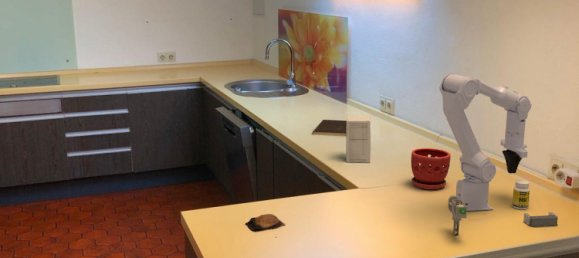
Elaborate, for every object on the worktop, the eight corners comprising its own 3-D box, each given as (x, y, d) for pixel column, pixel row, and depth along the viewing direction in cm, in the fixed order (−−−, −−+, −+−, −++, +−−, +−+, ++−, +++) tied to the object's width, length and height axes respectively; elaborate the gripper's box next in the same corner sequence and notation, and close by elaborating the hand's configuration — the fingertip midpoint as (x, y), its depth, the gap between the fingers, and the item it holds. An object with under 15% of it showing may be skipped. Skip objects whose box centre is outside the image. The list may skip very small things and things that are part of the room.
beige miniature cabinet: (369, 156, 250) (370, 115, 246) (370, 163, 241) (371, 120, 237) (345, 155, 251) (346, 115, 247) (345, 162, 242) (346, 120, 238)
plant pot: (449, 192, 208) (451, 158, 205) (409, 190, 211) (411, 156, 208) (448, 180, 221) (449, 147, 218) (410, 178, 223) (411, 145, 220)
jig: (530, 227, 180) (531, 219, 180) (523, 221, 184) (524, 213, 184) (558, 225, 181) (559, 217, 181) (551, 219, 185) (551, 211, 185)
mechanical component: (455, 227, 181) (457, 194, 178) (466, 242, 171) (468, 207, 168) (445, 227, 181) (447, 194, 178) (455, 242, 171) (457, 208, 168)
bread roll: (274, 218, 190) (274, 207, 189) (287, 228, 183) (287, 216, 182) (242, 224, 185) (242, 213, 184) (254, 235, 178) (254, 223, 177)
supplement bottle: (518, 210, 193) (520, 184, 191) (508, 205, 197) (511, 180, 195) (531, 208, 194) (533, 183, 192) (522, 203, 198) (524, 178, 196)
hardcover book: (354, 125, 301) (354, 121, 300) (347, 137, 279) (347, 132, 279) (322, 124, 305) (322, 119, 304) (312, 135, 283) (312, 130, 283)
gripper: (538, 137, 191) (534, 179, 194) (516, 125, 205) (513, 165, 208) (516, 138, 190) (512, 180, 193) (495, 126, 204) (493, 166, 207)
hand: (511, 172), depth 201 cm, fingers closed
